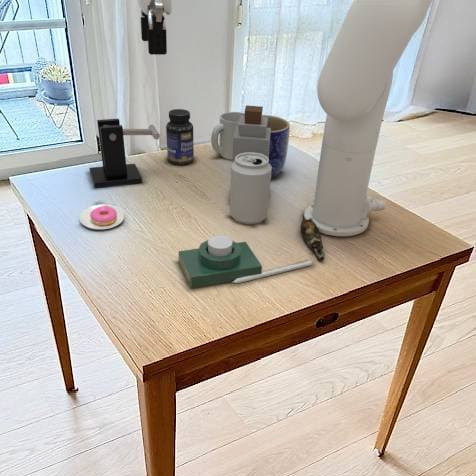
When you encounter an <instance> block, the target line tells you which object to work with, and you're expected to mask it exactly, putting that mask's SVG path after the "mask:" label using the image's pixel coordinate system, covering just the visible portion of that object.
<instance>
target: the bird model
mask: <svg viewBox="0 0 476 476" xmlns="http://www.w3.org/2000/svg"><path fill="white" fill-rule="evenodd" d="M302 217H303V218H302V219H303V220H302V222H301V224H300V227H299V229H300V234H301V236H302V239H303V240H304V241H305V243H306V244H307V245H308V246H309V248H311V250H312V252H313V253H315V255H316V257H317V259H319V260H321V261H322V260H324V259H325V253H324V251H323V249H324V246H323V242H322V236H321V233H320V232H319V230H318V228H317V226H316V224H315V223H314V222H313V221H312V220H307V219H305V217H304V214H303V215H302Z"/></svg>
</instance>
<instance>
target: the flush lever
mask: <svg viewBox="0 0 476 476" xmlns="http://www.w3.org/2000/svg"><path fill="white" fill-rule="evenodd" d="M103 126H116V124H103ZM123 136H152V138H153V139H154V140H159V139H160V138H161V135H160V133H159V131H158V129H157V128H156V126H155V125H154V124H149V125H148V127H147V128H123Z"/></svg>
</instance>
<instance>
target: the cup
mask: <svg viewBox="0 0 476 476" xmlns="http://www.w3.org/2000/svg"><path fill="white" fill-rule="evenodd" d="M240 115H244V116H245V112H240V111H228V112H223V113H221V114H220V115H219V124H217V125H215V126H214V127H213V129H212V131H211V135H210V142H211V143H210V144H211V147H212V150H213V151H214V152H215V153H218V154H219V155H220V156H221V157H222V158H223V159H226V160H231V161H232V160H233V137H234V133H235V130H236V127H237V126H238V122H239V118H240Z"/></svg>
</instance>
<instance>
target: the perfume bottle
mask: <svg viewBox="0 0 476 476" xmlns="http://www.w3.org/2000/svg"><path fill="white" fill-rule="evenodd" d="M244 107H245V108H244V113H245V116H244V115H240V118H239V122H238V126H237V127H236V130H235V133H234V137H233V160H231V161H232V163H233V162H234V161H235V157H236V156H237V155H238V154H241V153H246V152H254V153H260V154H263V155H265V156H267V157H268V159H269V146H270V133H271V128H266V127H267V121H268V117H262V115H263V110H264V106H259V105H245V106H244ZM232 163H231V164H232Z"/></svg>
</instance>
